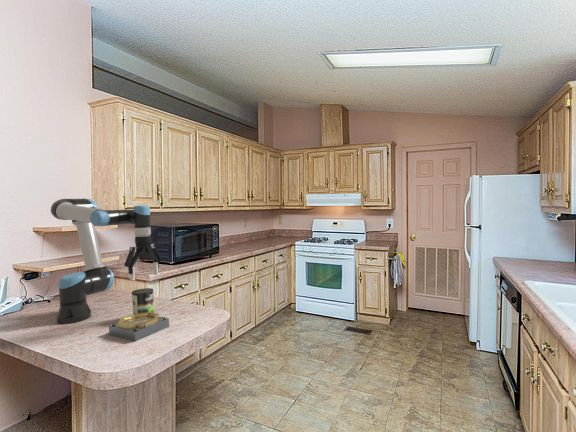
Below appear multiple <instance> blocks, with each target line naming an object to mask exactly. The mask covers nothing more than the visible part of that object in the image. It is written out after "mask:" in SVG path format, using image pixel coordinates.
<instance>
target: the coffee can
mask: <svg viewBox="0 0 576 432" xmlns="http://www.w3.org/2000/svg"><path fill="white" fill-rule="evenodd" d="M131 297H132V299H131V302H132V314H135V313H144V312H153V313H155V303H154V301H155V299H154V288H151V287H150V288H149V287H148V288H146V287H145V288H140V289H139V288H138V289H134V290H132V291H131Z"/></svg>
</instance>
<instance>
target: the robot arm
mask: <svg viewBox="0 0 576 432" xmlns="http://www.w3.org/2000/svg"><path fill="white" fill-rule="evenodd" d="M50 213H51V215H52V216H53V217H54V218H56V219H57V220H59V221H60V220H61V221H70V220H71V224H72V225H73V226H75V227H76V230H77V235H78V236H77V237H78V240H79V244H80V249H81V254H82V258H83V263H84V267H85V268H84V269H83V270H82V271H77V272H76V271H75V272H71V273H69V274H65V275H62V276H61V277H60V278H59V280H58V293H59V296H58V297H59V307H58V308H59V309H58V312H57V315H56V323H57V324H60V325H61V324H63V325H65V324H73V323H77V322H81V321H84V320H87V319H89V318H91V317H92V310H91V309H90V306H89V304H88V302H87V301H88V300H87V296H91V295H93V294H94V295H95V294H97V293H101V292H105V291H107V290H109V289H111V288H112V286H113V284H114V282H115V281H114V280H115V275H114V272H113V271H112V269H110V268H108V266H107V265H106V264H104V262H103V258H102V255H101V253H102V252H101V249H100V245H99V241H98V237H97V236H98V235H97V232H96V228H95V227H107V226H108V227H109V226H118V225H119V226H121V225H134V228H133V229H134V236H135V237H134V244H135V246H129V251H128V255H127V256H126V259H125V262H124V267H125V268H126V267H127V268H128V274H129V280H130V281H135V280H136V272H135V271H136V270H135V269H136V267H135V264H136V263H137V261H138V259H139V258H140V256H142V255H145V254H146V255H148V256H149V257H150V258H151V260H152V261H153V262H152V269H153V272H152V273H153V275H154V276H158V275H159V268H160V265H159V264H160V263H161V261H162V260H163V258H162V255H161V254H160V252H159V250H158V248H157V243H152V236H151V235H152V231H151V230H152V229H151V209H150V206H149V205H134V206H133V209H125V208H123V209H114V210H112V209H111V210H110V209H107V210H106V209H100V208H99V206H98V204H97V203H96V201H95V200H94V199H91V198H85V197H84V198H60V199H58V200H56V201H54V202H53V203H52V204H51V207H50Z"/></svg>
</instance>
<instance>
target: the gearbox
mask: <svg viewBox="0 0 576 432" xmlns="http://www.w3.org/2000/svg"><path fill="white" fill-rule="evenodd" d="M169 327H170V319H169V318H168V317H166V316H164V317H163V316H160V313H158V312H154V313H153V312H144V313H135V314H133V313H131V314H129V315H126V316H123V317H121V318H120V319H119V321H118V322H115V323H112V324H110V325H108V334H109V336H112V337H117V338H120V339H125V340H129V341H132V342H138V341H139V340H142V339H144V338H146V337H149V336H151V335H154V334H156V333H158V332H160V331H163V330H165V329H167V328H169Z"/></svg>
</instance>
